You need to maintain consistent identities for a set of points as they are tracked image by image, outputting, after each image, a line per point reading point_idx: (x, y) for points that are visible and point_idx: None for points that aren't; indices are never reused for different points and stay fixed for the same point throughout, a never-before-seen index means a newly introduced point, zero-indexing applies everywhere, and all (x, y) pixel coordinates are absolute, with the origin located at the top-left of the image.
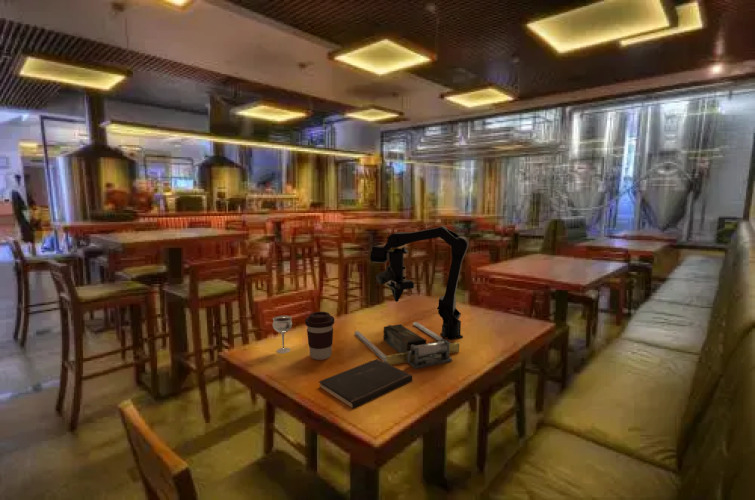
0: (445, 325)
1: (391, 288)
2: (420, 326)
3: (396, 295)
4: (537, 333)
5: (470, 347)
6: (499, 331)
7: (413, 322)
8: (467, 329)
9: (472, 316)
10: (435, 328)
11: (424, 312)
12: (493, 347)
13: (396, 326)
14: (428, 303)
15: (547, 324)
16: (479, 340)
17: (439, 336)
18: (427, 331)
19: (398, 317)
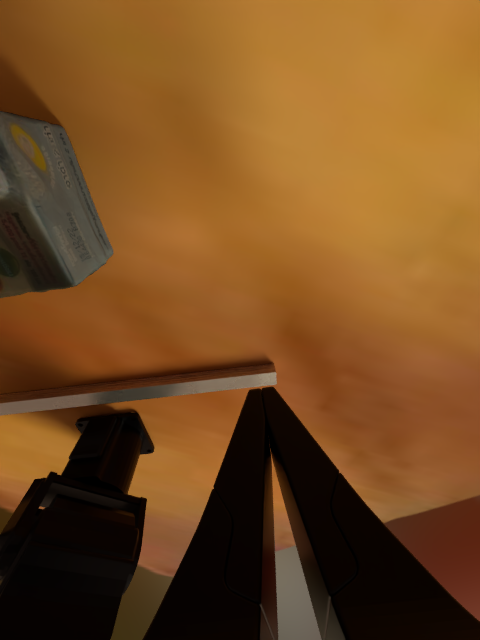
0: (81, 462)
1: (393, 625)
2: (212, 381)
3: (223, 481)
4: None
5: (11, 444)
6: (144, 520)
7: (273, 372)
8: (174, 479)
9: (275, 512)
10: (207, 416)
11: (387, 435)
12: (19, 483)
13: (4, 237)
14: (462, 468)
15: (172, 575)
16: None
17: (79, 404)
18: (146, 386)
19: (401, 338)
